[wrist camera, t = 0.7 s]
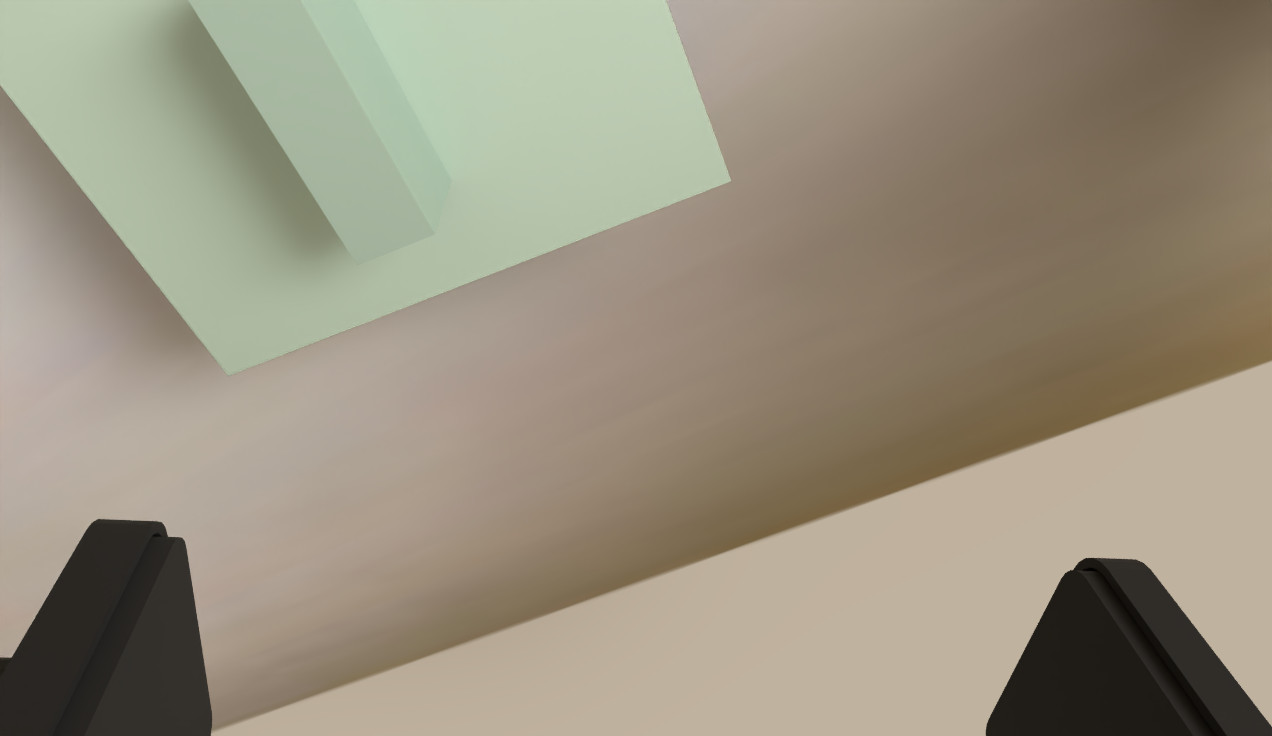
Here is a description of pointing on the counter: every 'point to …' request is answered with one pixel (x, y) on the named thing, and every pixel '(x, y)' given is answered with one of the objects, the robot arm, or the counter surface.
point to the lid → (354, 143)
